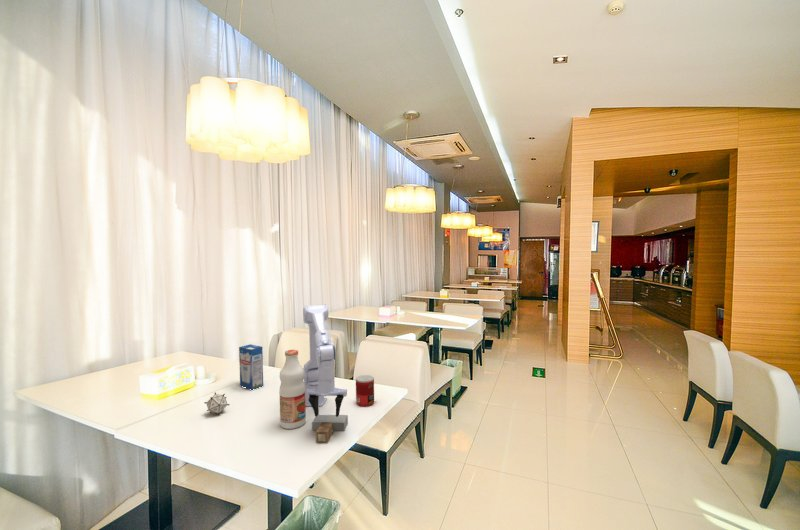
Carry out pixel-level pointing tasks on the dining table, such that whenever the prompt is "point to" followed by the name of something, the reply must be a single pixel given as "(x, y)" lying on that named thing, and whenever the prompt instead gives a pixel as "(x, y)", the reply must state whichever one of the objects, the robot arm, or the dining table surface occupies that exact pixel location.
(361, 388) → the canned food
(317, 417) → the gray rectangular block
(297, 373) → the fruit juice
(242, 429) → the dining table surface
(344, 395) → the robot arm
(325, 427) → the walnut block
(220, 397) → the grey spiked polyhedron
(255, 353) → the milk carton
